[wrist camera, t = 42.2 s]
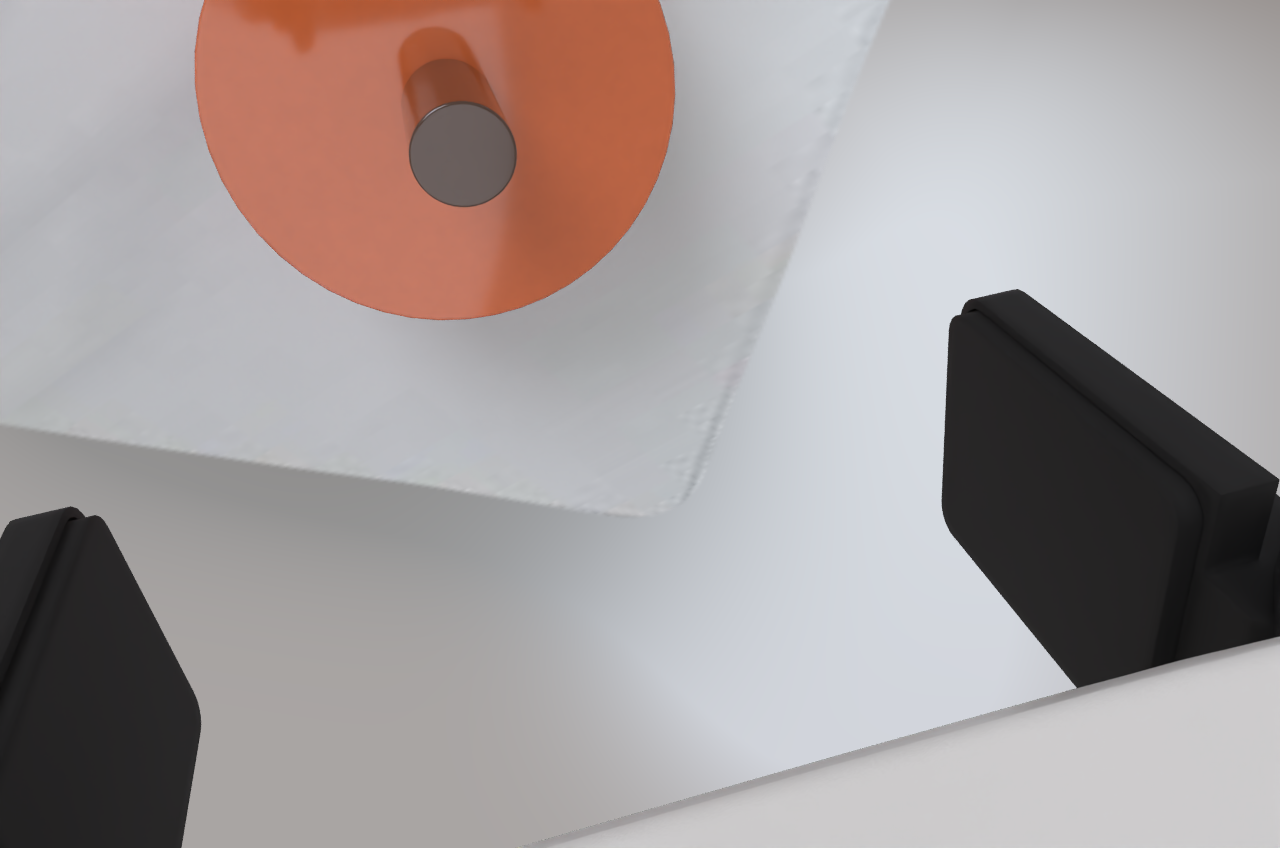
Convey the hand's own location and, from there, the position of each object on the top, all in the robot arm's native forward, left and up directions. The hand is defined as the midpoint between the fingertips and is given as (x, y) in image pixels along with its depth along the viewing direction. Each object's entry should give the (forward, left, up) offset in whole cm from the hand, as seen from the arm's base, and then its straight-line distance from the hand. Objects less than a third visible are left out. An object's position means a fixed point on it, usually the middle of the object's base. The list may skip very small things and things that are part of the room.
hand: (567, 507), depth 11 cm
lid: (0, 0, -19) cm, 19 cm away
